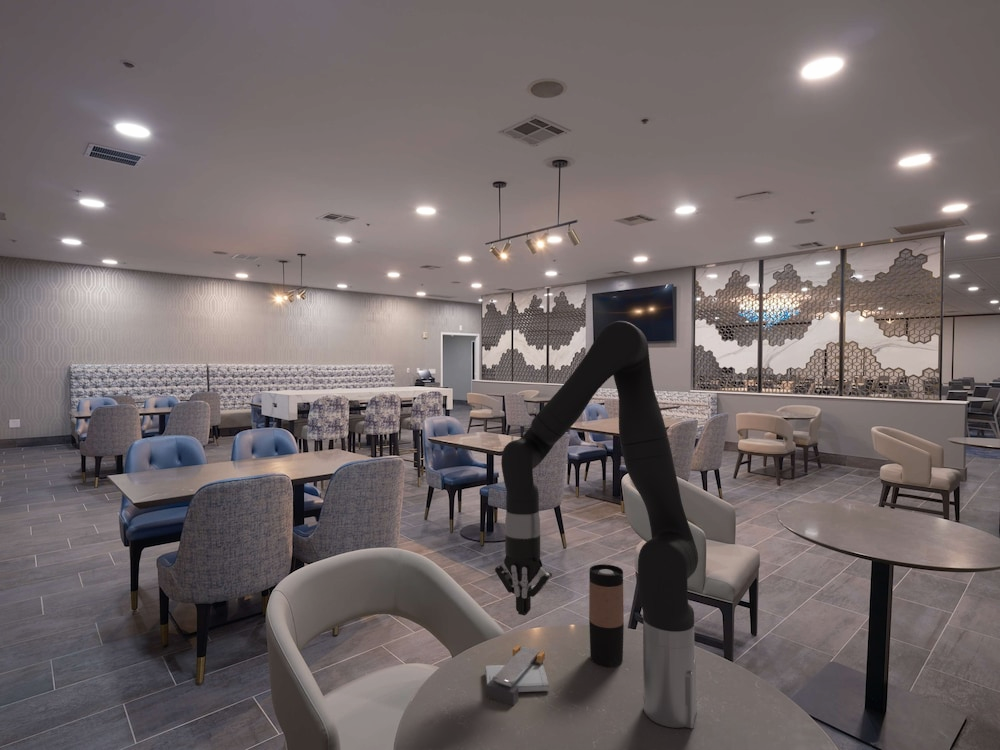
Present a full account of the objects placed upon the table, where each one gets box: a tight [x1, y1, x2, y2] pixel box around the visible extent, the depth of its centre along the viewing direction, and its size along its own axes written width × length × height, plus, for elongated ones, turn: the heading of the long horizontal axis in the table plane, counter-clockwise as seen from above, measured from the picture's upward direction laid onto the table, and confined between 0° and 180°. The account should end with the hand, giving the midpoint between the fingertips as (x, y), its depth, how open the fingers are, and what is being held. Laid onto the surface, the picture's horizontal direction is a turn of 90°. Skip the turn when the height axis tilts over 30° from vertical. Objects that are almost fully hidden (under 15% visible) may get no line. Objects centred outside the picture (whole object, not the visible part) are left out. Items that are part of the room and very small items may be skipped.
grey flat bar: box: [492, 646, 541, 687], centre depth 111 cm, size 4×15×2 cm, turn 153°
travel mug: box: [588, 563, 625, 668], centre depth 120 cm, size 8×8×20 cm
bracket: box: [486, 644, 546, 707], centre depth 110 cm, size 7×15×4 cm, turn 153°
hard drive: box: [484, 663, 550, 693], centre depth 110 cm, size 2×8×12 cm
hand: (523, 613), depth 113 cm, fingers closed
